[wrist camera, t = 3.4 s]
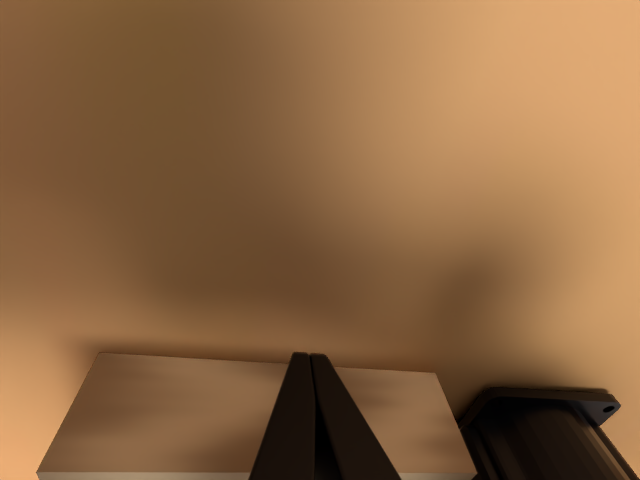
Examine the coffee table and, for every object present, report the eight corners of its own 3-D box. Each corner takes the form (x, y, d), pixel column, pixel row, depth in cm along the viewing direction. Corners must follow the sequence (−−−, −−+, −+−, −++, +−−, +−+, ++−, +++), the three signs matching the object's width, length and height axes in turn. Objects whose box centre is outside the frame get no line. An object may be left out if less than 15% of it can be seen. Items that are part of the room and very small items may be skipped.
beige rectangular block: (431, 363, 14) (477, 473, 11) (363, 481, 19) (380, 580, 16) (104, 342, 12) (36, 471, 9) (127, 482, 17) (89, 597, 14)
